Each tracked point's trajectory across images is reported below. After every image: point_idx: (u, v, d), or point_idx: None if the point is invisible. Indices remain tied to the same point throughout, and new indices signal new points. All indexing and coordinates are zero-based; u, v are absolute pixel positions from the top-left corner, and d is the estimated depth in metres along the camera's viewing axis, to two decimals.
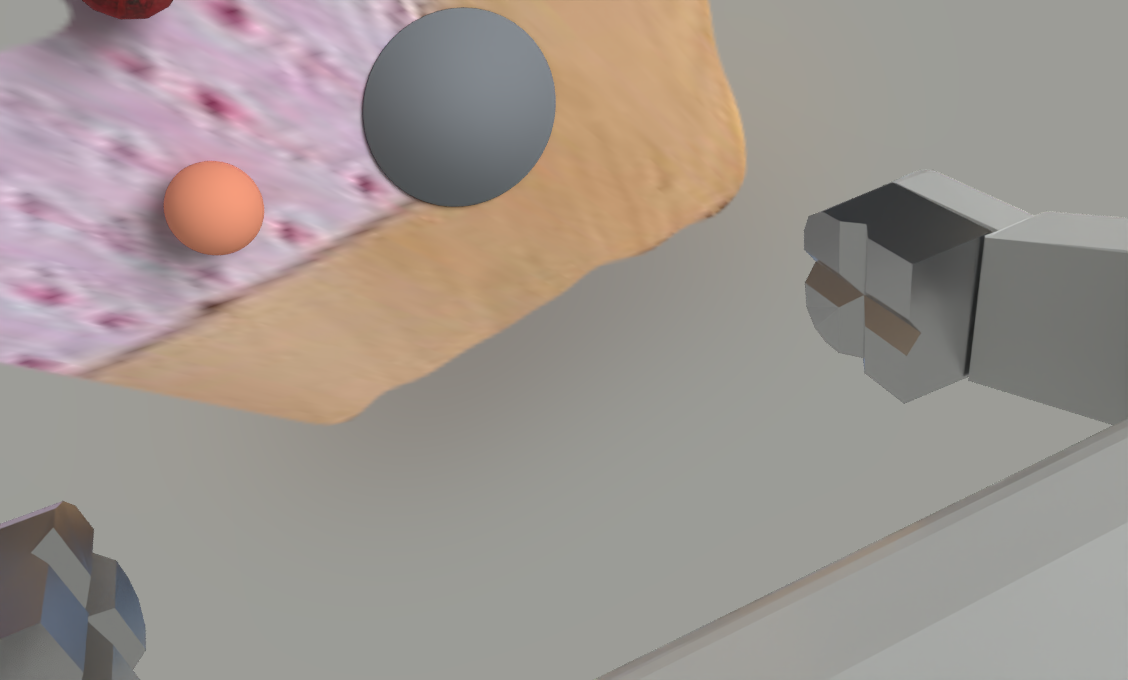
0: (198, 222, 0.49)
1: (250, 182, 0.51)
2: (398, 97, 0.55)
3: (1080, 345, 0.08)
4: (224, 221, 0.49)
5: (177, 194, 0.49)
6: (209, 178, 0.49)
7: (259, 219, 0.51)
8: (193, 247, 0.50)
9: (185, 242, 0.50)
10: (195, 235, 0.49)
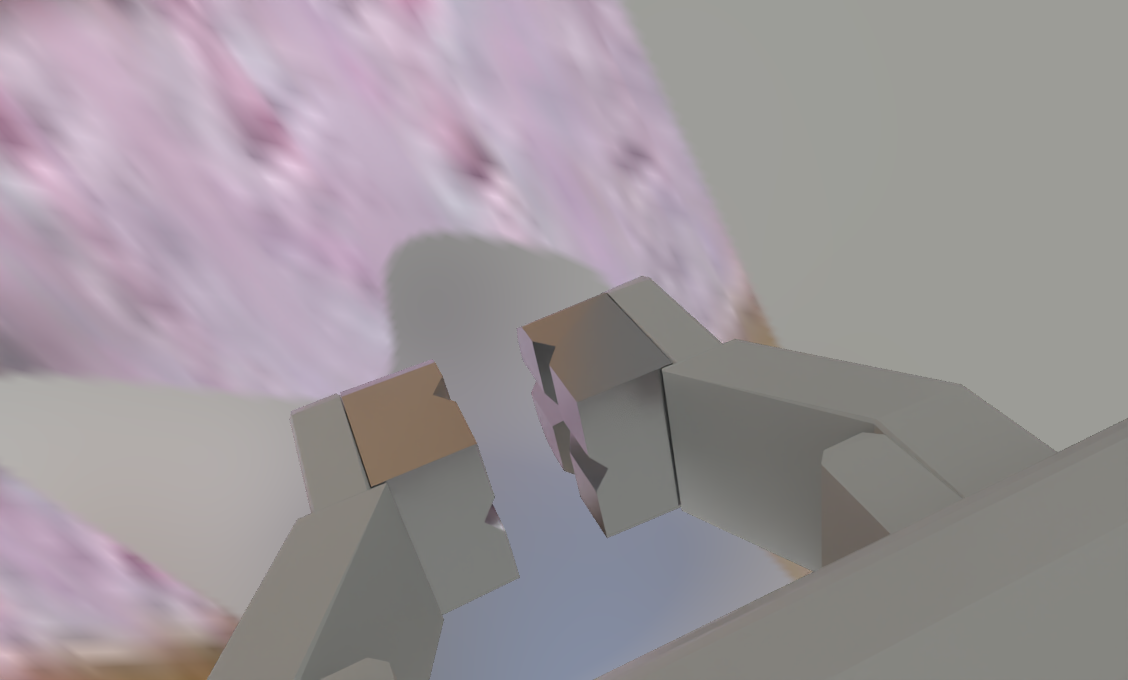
0: None
1: None
2: None
3: (767, 489, 0.08)
4: None
5: None
6: None
7: None
8: None
9: None
10: None
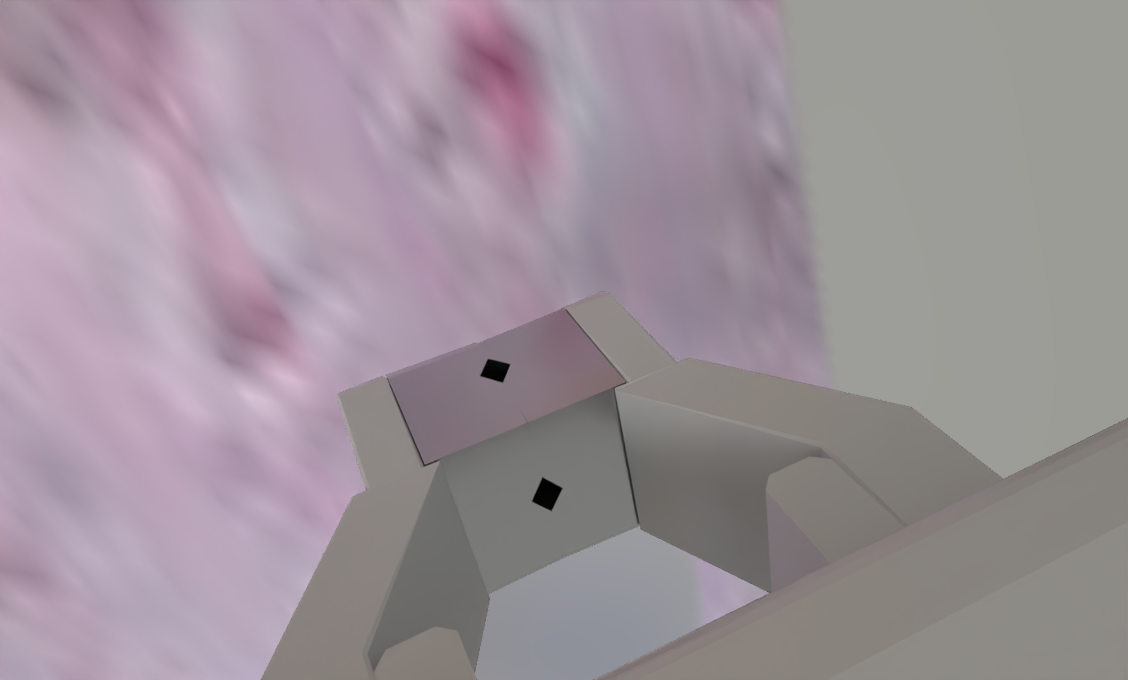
0: None
1: None
2: None
3: (721, 509, 0.08)
4: None
5: None
6: None
7: None
8: None
9: None
10: None
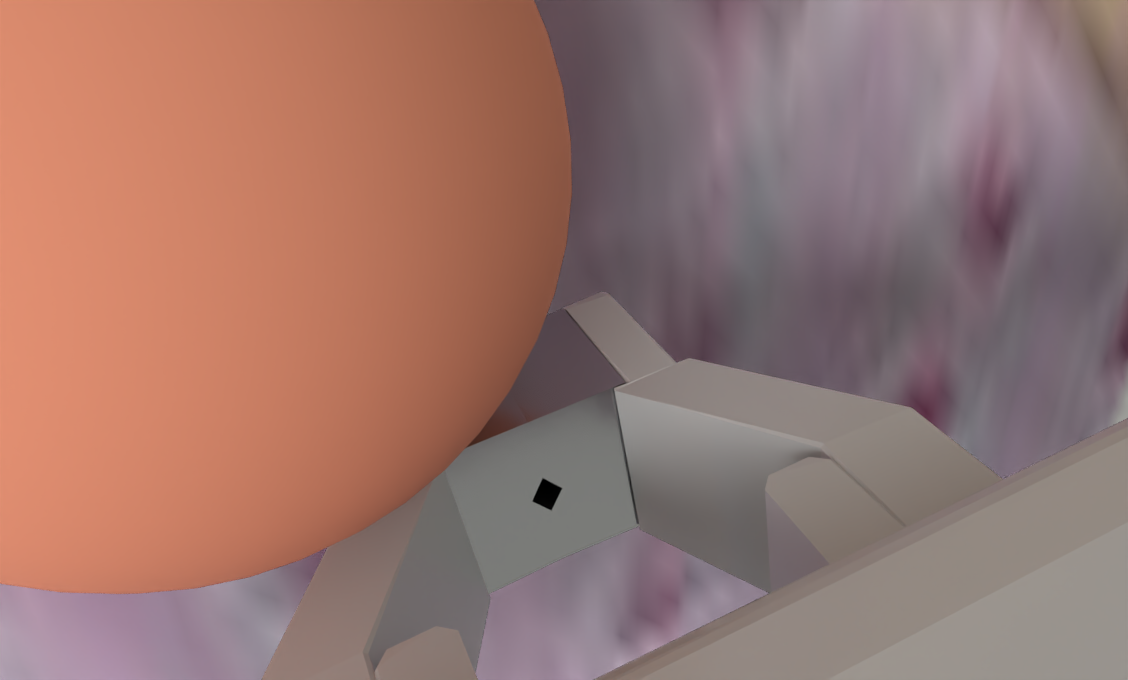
0: (109, 400, 0.04)
1: None
2: None
3: (721, 510, 0.08)
4: None
5: (110, 592, 0.05)
6: None
7: None
8: (511, 224, 0.05)
9: (504, 309, 0.05)
10: (318, 322, 0.04)
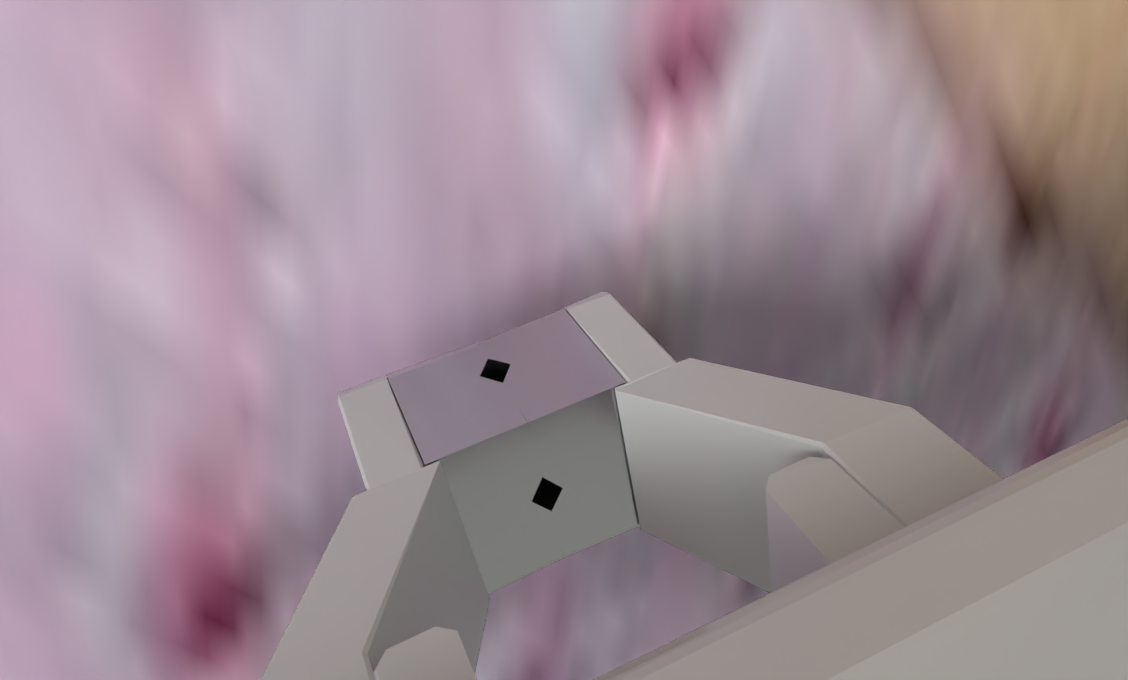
0: None
1: None
2: None
3: (721, 510, 0.08)
4: None
5: None
6: None
7: None
8: None
9: None
10: None
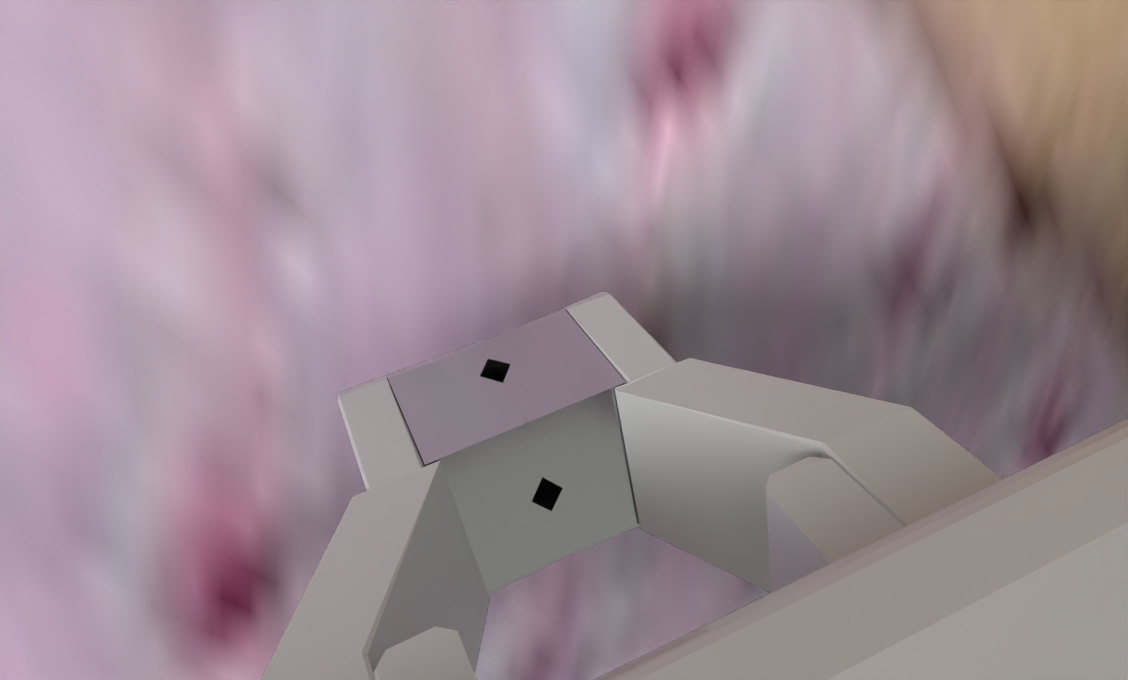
0: None
1: None
2: None
3: (721, 510, 0.08)
4: None
5: None
6: None
7: None
8: None
9: None
10: None
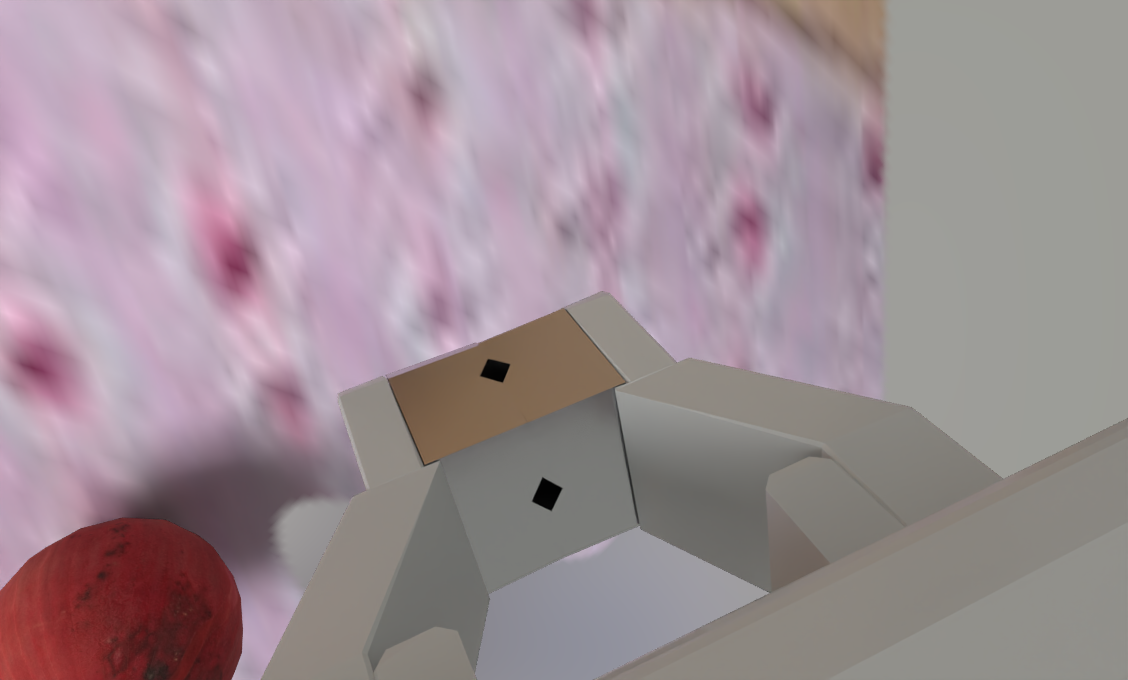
0: None
1: None
2: None
3: (721, 510, 0.08)
4: None
5: None
6: None
7: None
8: None
9: None
10: None
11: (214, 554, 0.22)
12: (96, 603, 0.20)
